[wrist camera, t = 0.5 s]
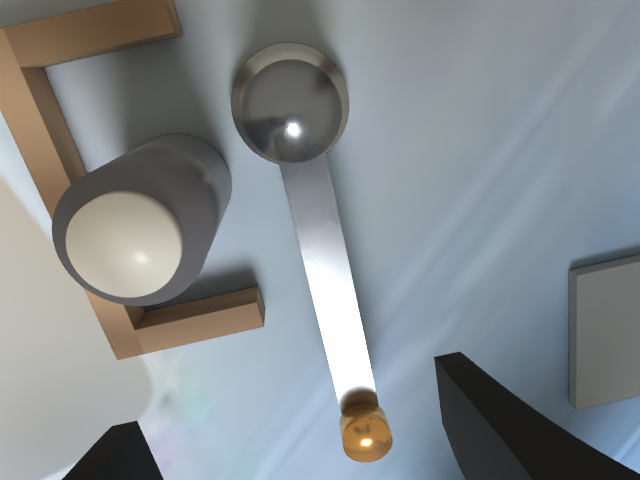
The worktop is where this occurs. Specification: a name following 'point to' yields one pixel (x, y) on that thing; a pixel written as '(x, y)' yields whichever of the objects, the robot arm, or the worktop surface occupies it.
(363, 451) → the grey long bar
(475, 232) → the worktop surface
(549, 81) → the worktop surface
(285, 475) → the worktop surface
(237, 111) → the grey metal disc
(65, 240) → the plug
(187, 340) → the tan wooden u-shaped piece
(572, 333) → the pad
